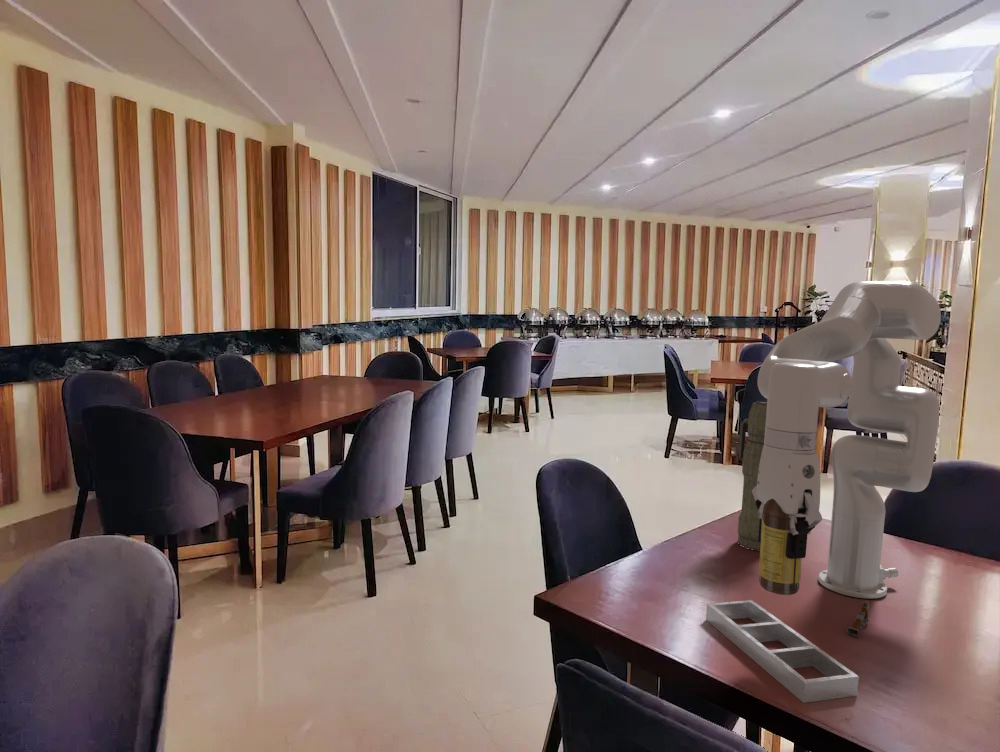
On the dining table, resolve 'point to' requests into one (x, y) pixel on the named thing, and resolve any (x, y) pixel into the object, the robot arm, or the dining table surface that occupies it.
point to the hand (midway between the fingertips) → (781, 548)
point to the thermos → (751, 473)
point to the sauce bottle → (777, 552)
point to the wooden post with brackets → (859, 620)
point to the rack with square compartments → (782, 651)
